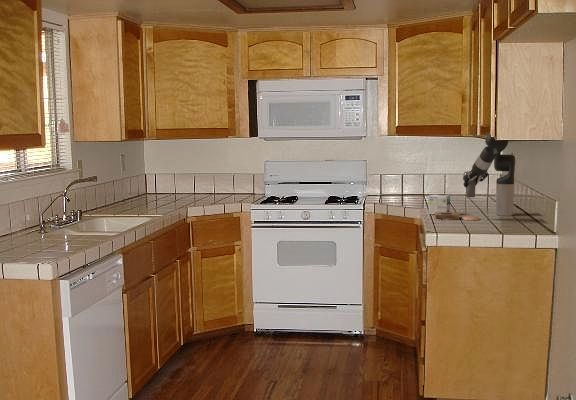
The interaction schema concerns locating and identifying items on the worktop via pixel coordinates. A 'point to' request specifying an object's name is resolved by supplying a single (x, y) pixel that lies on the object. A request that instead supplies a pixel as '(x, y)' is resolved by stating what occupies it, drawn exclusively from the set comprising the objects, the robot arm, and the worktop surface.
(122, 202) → the worktop surface
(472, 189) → the plug
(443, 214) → the brown wooden square frame
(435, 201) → the light bulb box
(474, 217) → the orange round disc
